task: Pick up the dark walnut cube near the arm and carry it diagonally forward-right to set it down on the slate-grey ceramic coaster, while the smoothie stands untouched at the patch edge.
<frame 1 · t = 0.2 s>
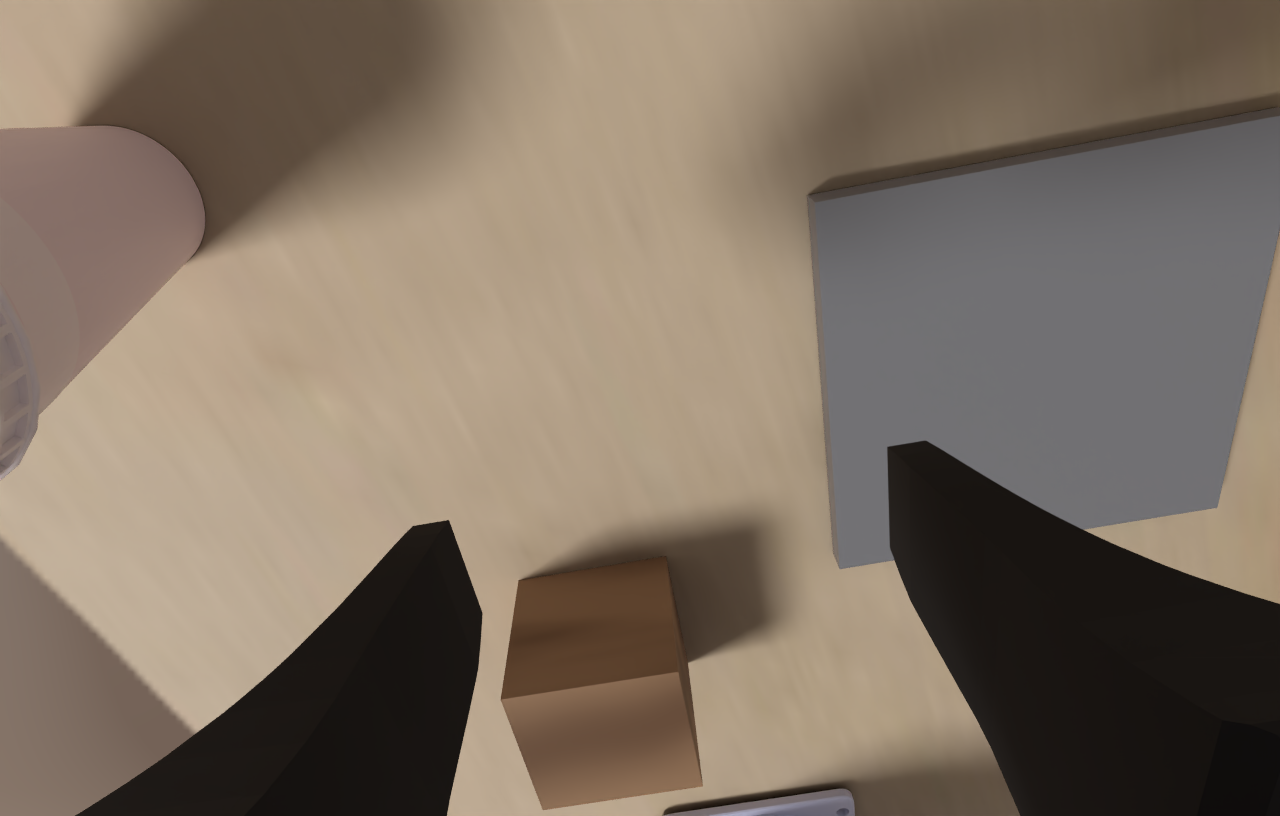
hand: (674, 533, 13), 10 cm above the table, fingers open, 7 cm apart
coaster: (1025, 361, 22), on the table
smoothie: (132, 200, 19), on the table
walnut cube: (606, 621, 27), on the table
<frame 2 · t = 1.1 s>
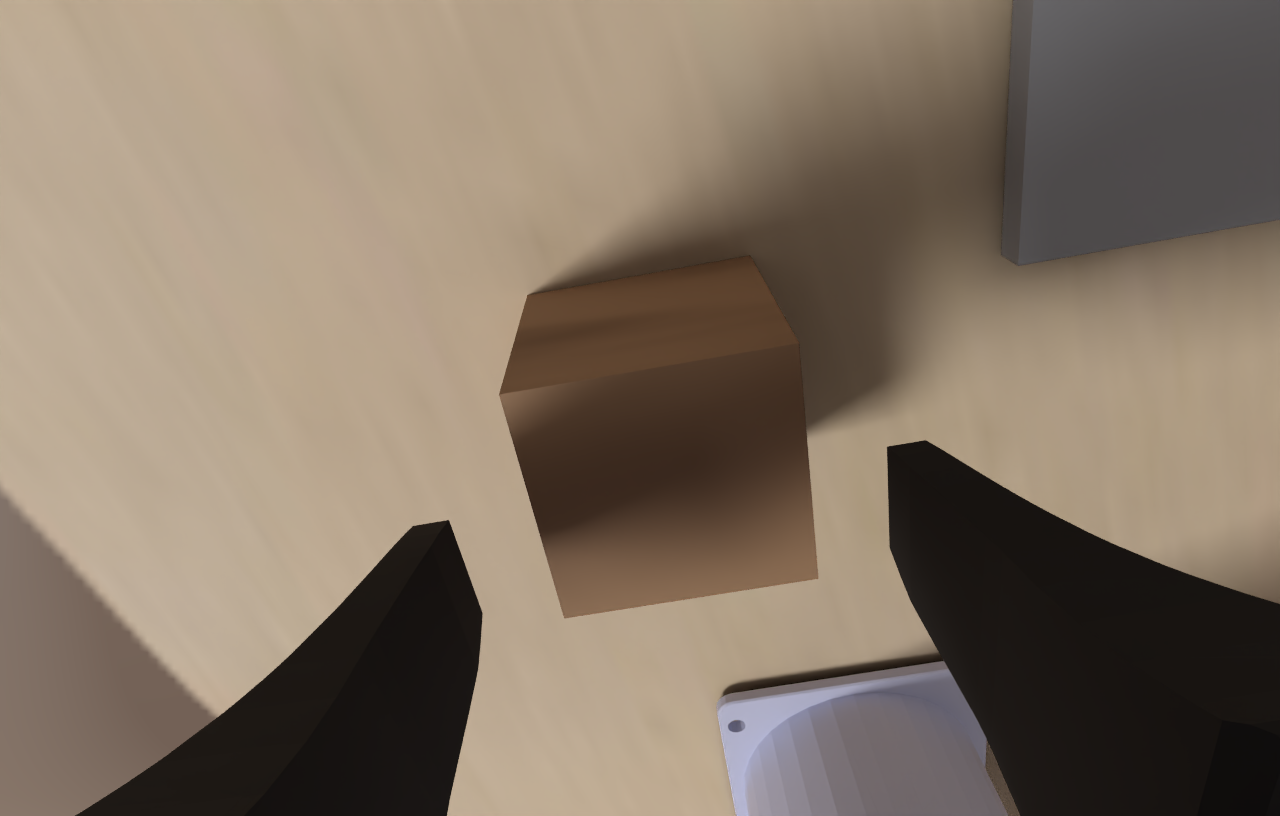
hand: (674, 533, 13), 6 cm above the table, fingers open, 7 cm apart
walnut cube: (655, 374, 18), on the table
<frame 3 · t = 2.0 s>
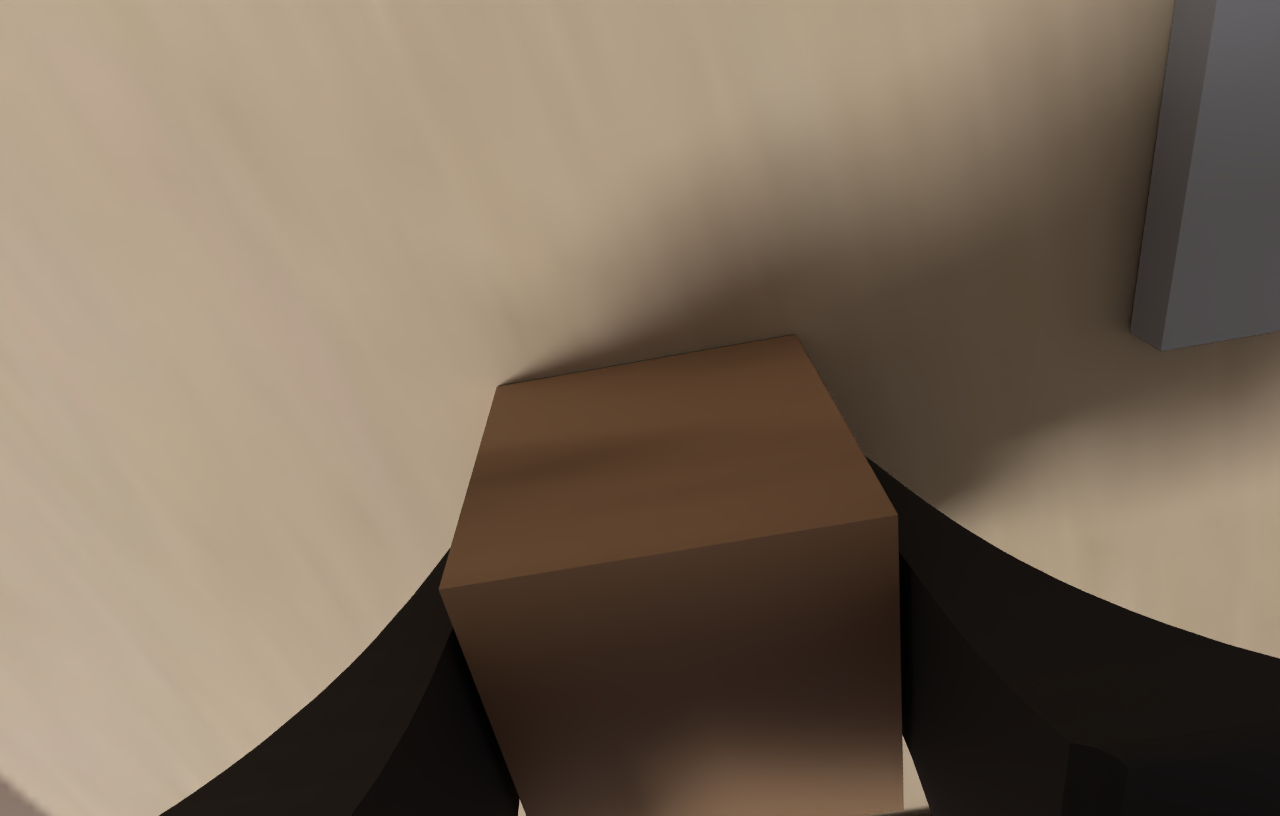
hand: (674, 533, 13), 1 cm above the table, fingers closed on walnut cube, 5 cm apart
walnut cube: (668, 485, 14), on the table, touching gripper
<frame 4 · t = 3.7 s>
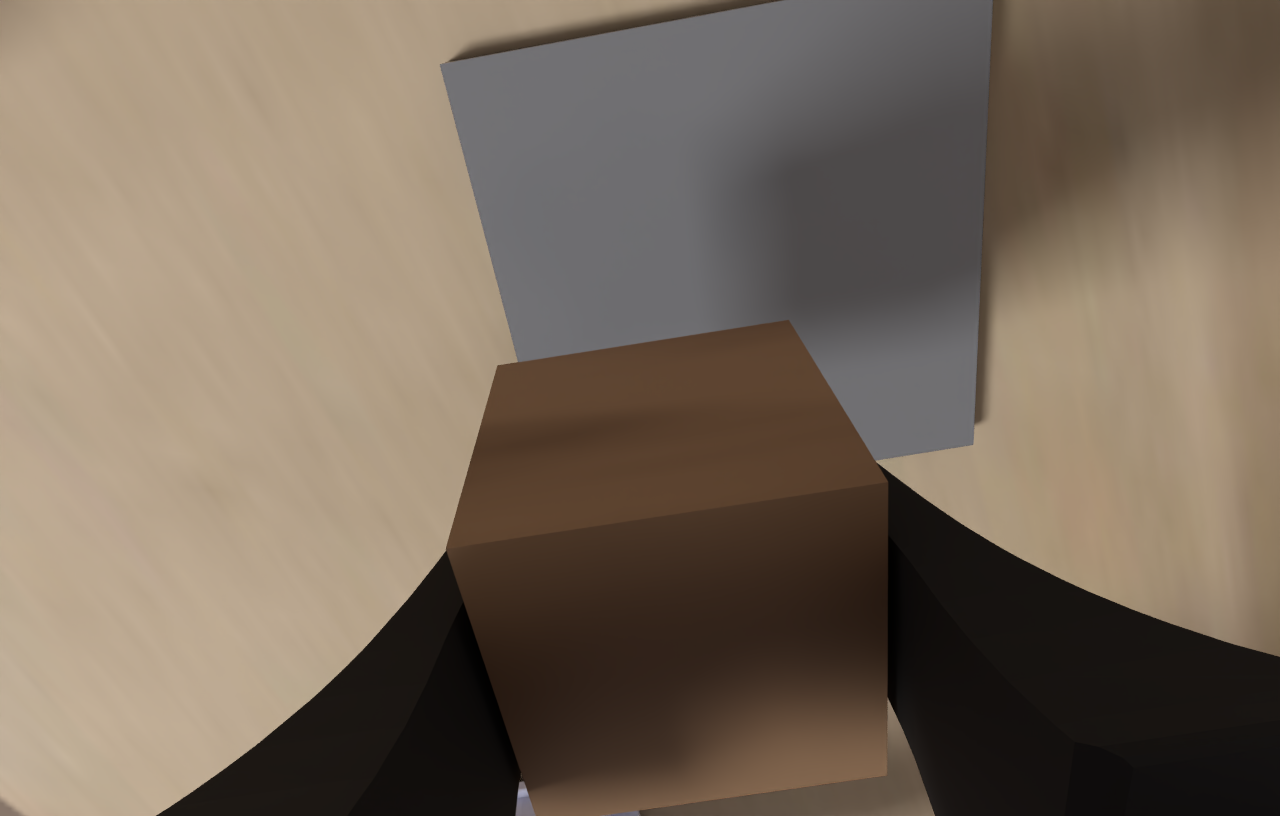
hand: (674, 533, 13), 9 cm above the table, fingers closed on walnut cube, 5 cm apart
coaster: (736, 269, 20), on the table
walnut cube: (662, 466, 14), point 7 cm above the table, touching gripper
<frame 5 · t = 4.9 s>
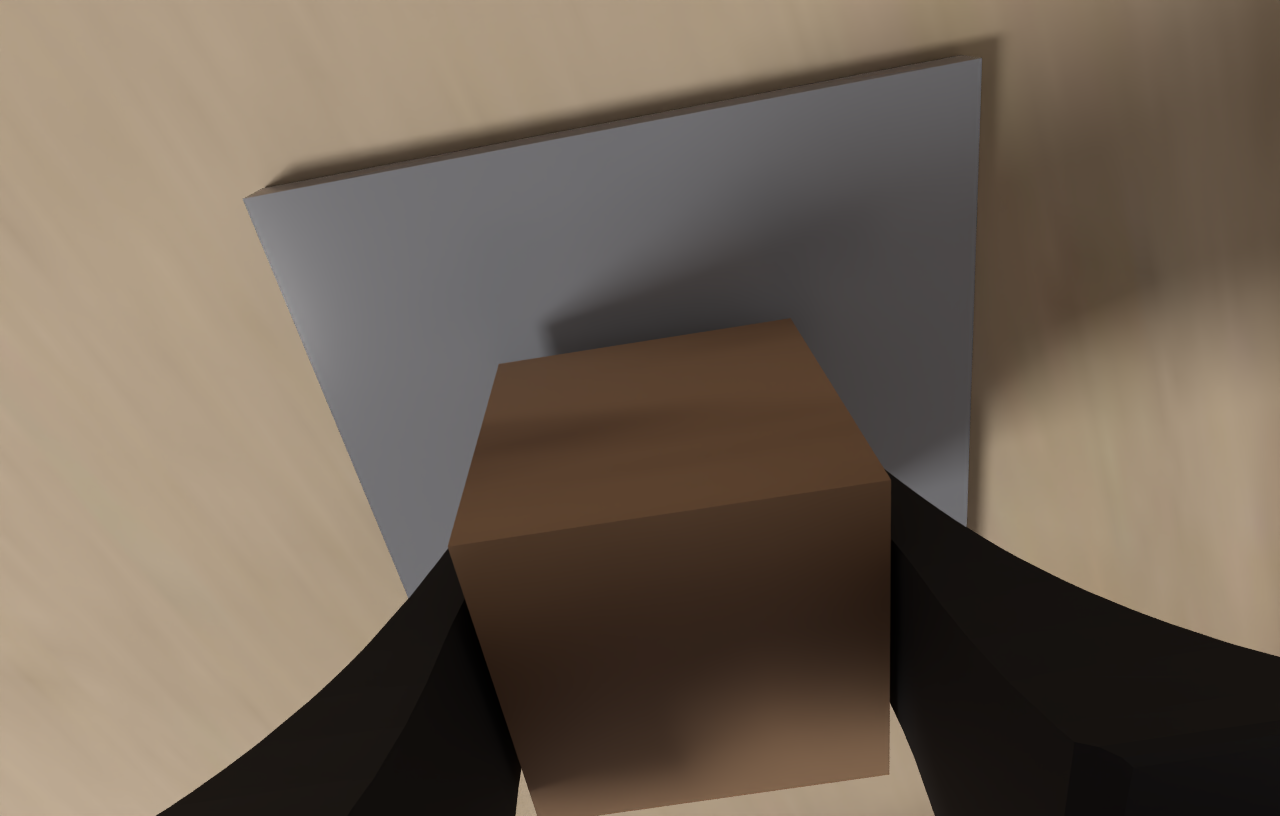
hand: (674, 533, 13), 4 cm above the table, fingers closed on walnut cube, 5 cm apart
coaster: (660, 427, 16), on the table
walnut cube: (663, 465, 14), point 2 cm above the table, touching gripper
when the fingers open (3 cm above the table, at t = 5.5 s): walnut cube stays where it is, resting on coaster.
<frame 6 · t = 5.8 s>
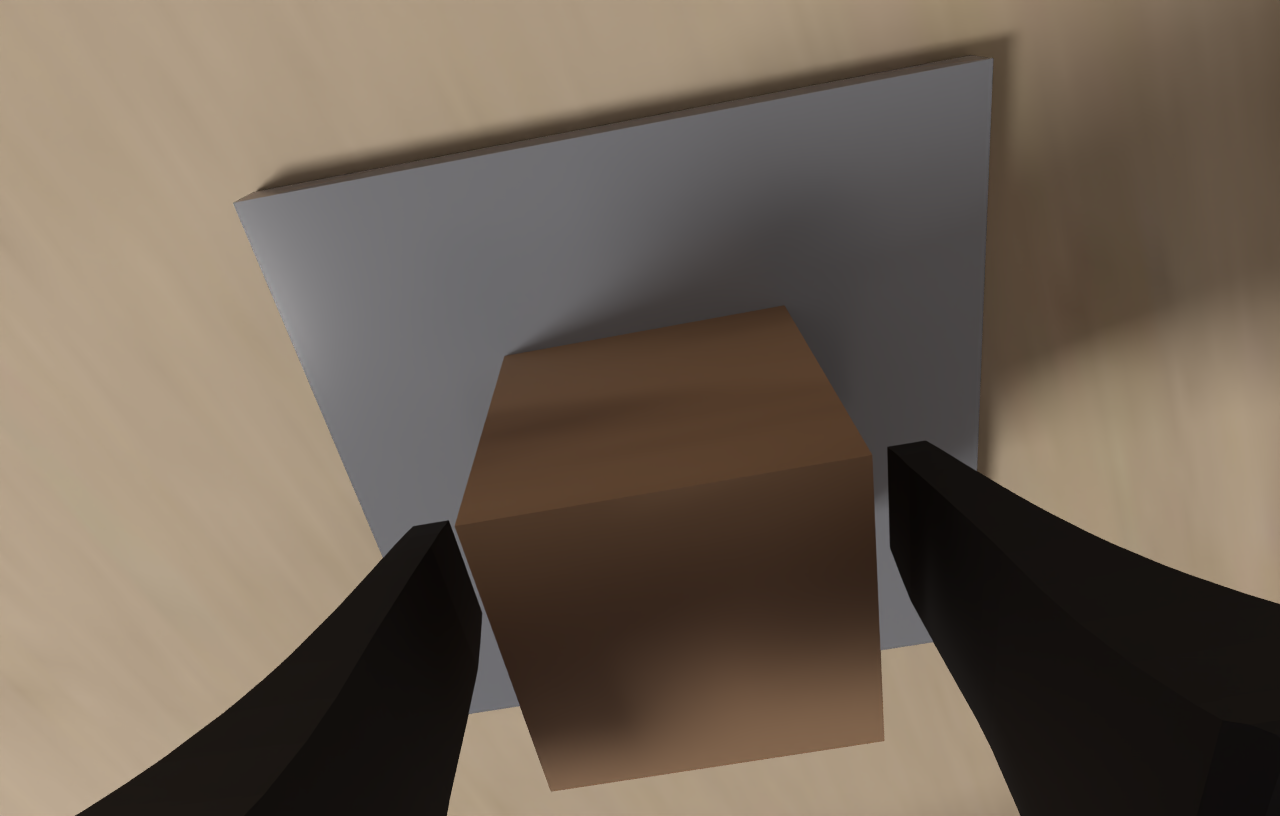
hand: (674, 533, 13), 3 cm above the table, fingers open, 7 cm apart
coaster: (662, 435, 15), on the table
walnut cube: (665, 450, 15), point 1 cm above the table, touching coaster
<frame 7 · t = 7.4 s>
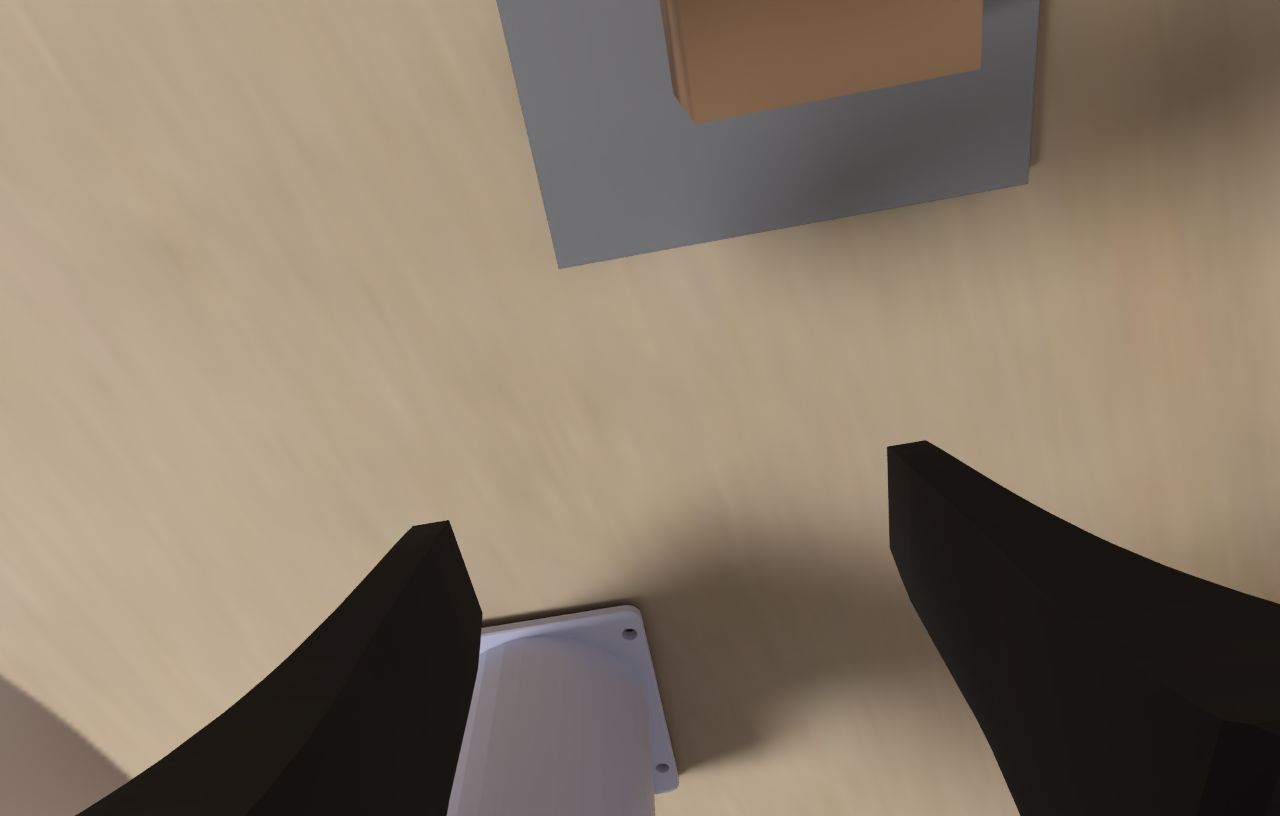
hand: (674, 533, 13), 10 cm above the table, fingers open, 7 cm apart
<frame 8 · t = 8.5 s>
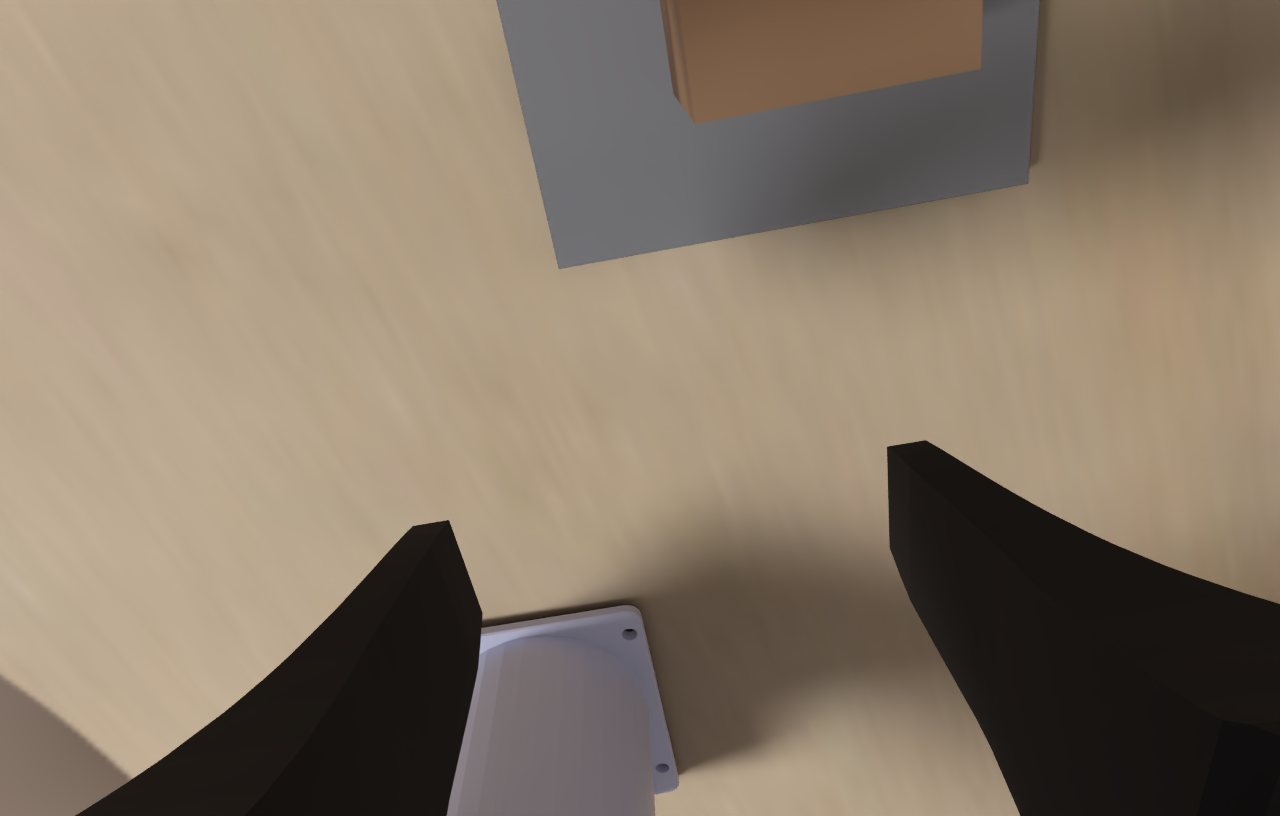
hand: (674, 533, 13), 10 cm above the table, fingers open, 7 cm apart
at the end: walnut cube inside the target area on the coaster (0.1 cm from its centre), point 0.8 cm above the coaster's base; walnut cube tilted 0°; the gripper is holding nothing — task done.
